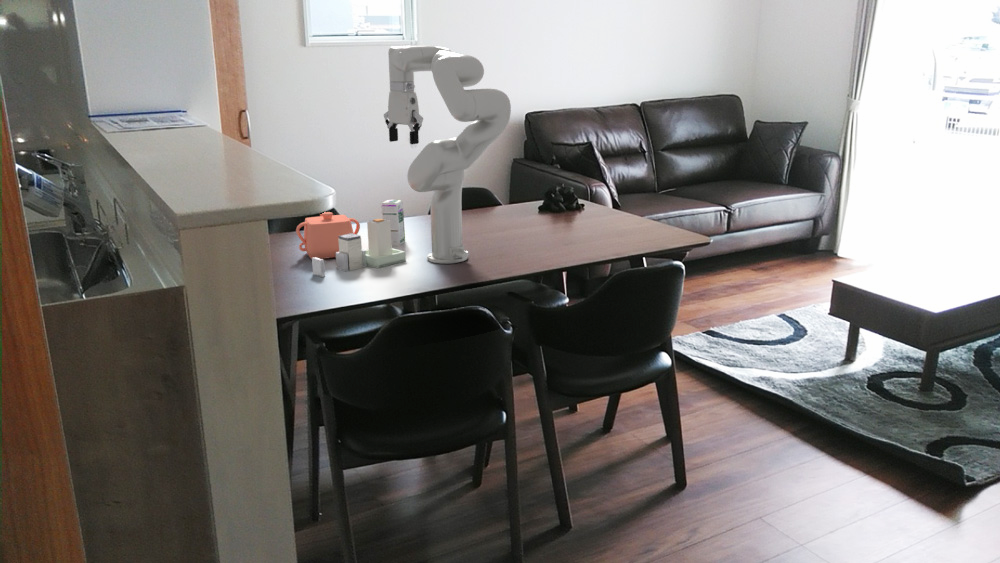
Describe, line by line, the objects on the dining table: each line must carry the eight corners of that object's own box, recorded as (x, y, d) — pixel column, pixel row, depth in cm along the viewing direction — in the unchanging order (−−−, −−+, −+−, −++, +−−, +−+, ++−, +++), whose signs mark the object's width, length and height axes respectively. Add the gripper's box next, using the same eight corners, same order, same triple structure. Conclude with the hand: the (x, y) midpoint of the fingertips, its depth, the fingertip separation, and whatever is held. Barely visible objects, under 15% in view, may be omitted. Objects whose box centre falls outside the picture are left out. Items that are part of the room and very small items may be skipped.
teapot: (353, 243, 269) (351, 202, 265) (365, 256, 251) (363, 214, 247) (293, 249, 262) (289, 207, 258) (301, 263, 245) (297, 219, 241)
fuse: (392, 258, 246) (390, 219, 242) (379, 261, 242) (376, 222, 239) (382, 255, 249) (380, 217, 245) (369, 259, 246) (367, 219, 242)
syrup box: (400, 245, 264) (398, 202, 260) (383, 245, 265) (380, 202, 261) (405, 241, 270) (403, 199, 265) (388, 241, 271) (386, 199, 267)
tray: (405, 261, 246) (405, 251, 245) (377, 268, 238) (376, 258, 238) (384, 254, 253) (383, 245, 252) (355, 261, 246) (355, 252, 245)
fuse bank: (366, 266, 241) (364, 234, 238) (321, 277, 230) (319, 244, 227) (357, 263, 244) (355, 232, 241) (312, 274, 233) (310, 241, 230)
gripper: (429, 88, 246) (431, 143, 251) (392, 85, 257) (394, 139, 262) (411, 89, 240) (413, 146, 245) (374, 86, 251) (377, 141, 256)
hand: (403, 142), depth 254 cm, fingers open, 9 cm apart
